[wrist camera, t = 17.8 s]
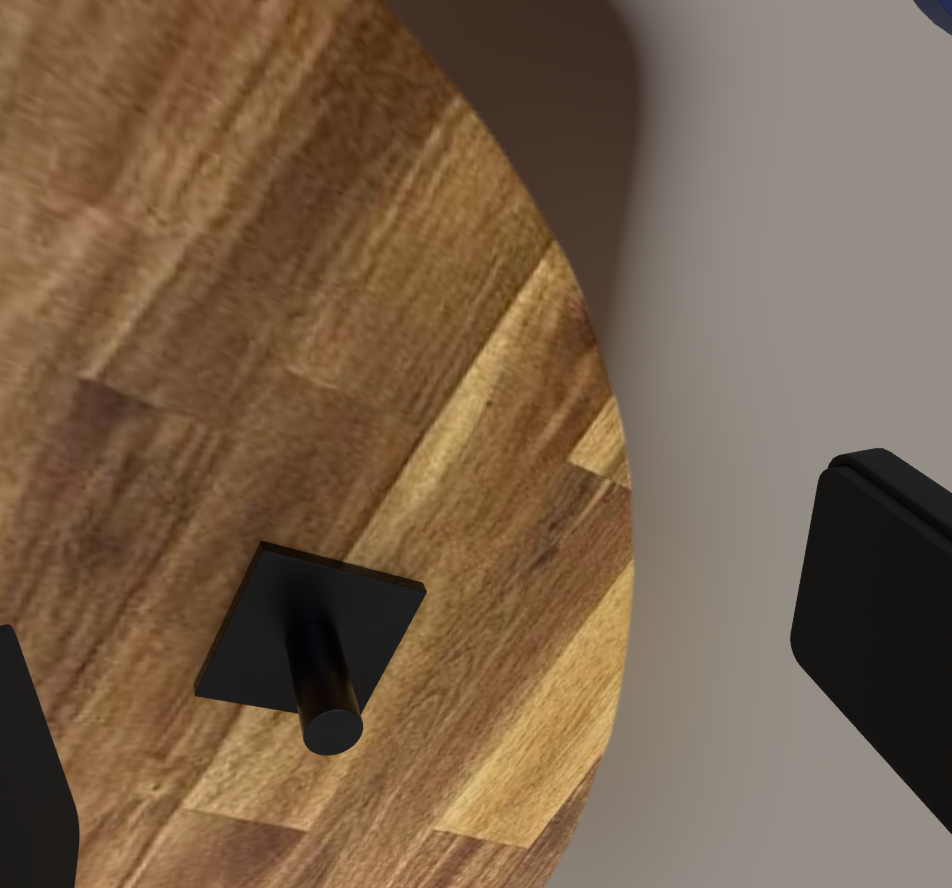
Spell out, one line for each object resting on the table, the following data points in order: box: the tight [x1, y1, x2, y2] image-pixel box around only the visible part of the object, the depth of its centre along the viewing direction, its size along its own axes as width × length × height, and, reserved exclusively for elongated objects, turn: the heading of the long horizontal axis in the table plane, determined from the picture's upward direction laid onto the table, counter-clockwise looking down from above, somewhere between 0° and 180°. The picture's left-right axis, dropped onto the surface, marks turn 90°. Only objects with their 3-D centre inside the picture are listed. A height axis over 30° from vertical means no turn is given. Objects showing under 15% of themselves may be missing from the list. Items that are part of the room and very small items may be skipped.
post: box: [194, 541, 427, 756], centre depth 38 cm, size 8×8×6 cm
